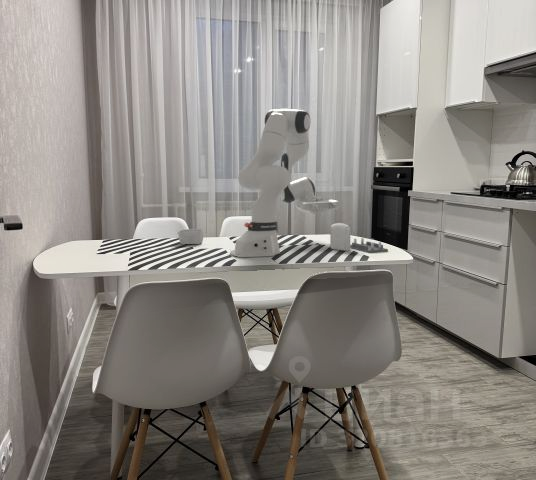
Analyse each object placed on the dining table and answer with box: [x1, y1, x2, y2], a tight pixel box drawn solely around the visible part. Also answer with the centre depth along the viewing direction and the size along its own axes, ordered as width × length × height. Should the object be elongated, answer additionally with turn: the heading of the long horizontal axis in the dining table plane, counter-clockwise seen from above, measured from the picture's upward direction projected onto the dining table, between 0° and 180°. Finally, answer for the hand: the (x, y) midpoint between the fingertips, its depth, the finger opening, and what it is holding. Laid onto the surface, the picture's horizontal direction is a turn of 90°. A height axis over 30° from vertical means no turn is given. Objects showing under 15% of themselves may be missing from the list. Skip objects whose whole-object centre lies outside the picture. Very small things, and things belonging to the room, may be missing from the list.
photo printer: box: [329, 222, 351, 252], centre depth 217 cm, size 10×4×12 cm, turn 39°
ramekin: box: [177, 228, 205, 245], centre depth 241 cm, size 13×13×7 cm
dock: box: [350, 237, 389, 254], centre depth 219 cm, size 10×18×4 cm, turn 22°
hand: (326, 206), depth 228 cm, fingers open, 8 cm apart
